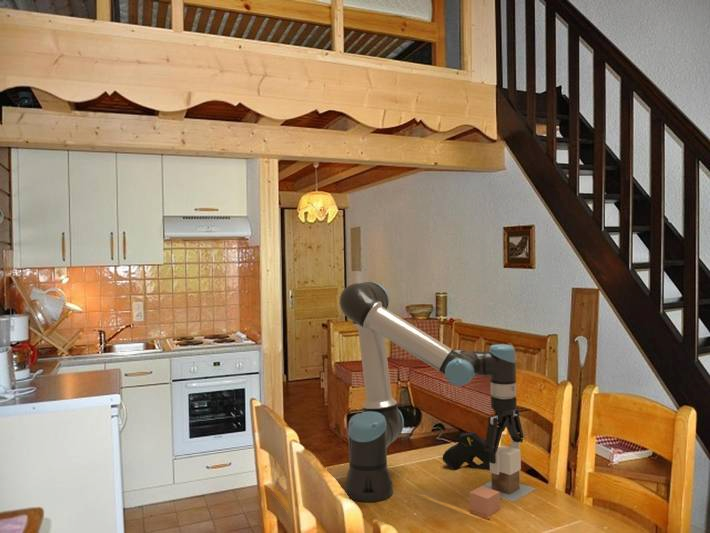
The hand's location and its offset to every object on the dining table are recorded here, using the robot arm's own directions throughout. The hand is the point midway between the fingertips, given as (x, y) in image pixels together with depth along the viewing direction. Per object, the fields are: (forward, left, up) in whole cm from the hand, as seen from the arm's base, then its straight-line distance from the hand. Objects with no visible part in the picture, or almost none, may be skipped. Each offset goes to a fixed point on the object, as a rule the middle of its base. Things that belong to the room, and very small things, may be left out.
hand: (505, 467), depth 167 cm
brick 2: (0, 0, -6) cm, 6 cm away
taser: (-17, +9, -8) cm, 21 cm away
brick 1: (+3, -16, -8) cm, 18 cm away
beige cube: (+1, 0, 0) cm, 1 cm away
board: (0, 0, -8) cm, 8 cm away
